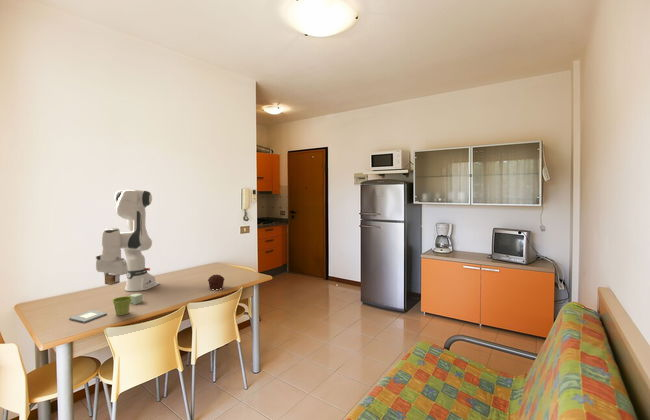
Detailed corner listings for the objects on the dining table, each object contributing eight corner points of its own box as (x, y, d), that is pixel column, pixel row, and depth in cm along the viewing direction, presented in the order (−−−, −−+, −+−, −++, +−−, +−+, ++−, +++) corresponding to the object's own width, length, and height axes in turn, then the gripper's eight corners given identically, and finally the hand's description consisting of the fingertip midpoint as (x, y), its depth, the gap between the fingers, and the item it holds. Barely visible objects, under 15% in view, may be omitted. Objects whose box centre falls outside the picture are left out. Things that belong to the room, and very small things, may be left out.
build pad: (92, 311, 180) (92, 309, 180) (106, 314, 176) (106, 312, 176) (69, 319, 169) (69, 317, 169) (84, 323, 165) (84, 321, 165)
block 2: (136, 300, 199) (136, 293, 199) (142, 301, 197) (142, 294, 197) (129, 303, 194) (129, 295, 194) (135, 304, 193) (135, 296, 192)
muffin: (227, 287, 229) (227, 274, 228) (216, 292, 219) (216, 278, 218) (215, 285, 234) (215, 272, 233) (204, 289, 224) (204, 275, 223)
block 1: (113, 281, 180) (113, 273, 180) (119, 282, 178) (119, 274, 178) (104, 284, 175) (104, 275, 175) (111, 285, 174) (111, 276, 173)
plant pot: (118, 310, 183) (118, 296, 182) (135, 310, 183) (135, 296, 183) (108, 317, 173) (108, 302, 173) (126, 316, 174) (126, 301, 174)
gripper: (130, 257, 176) (130, 281, 176) (104, 254, 182) (104, 277, 183) (120, 259, 170) (120, 284, 170) (93, 256, 176) (94, 280, 177)
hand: (112, 280), depth 177 cm, fingers closed on block 1, 5 cm apart
